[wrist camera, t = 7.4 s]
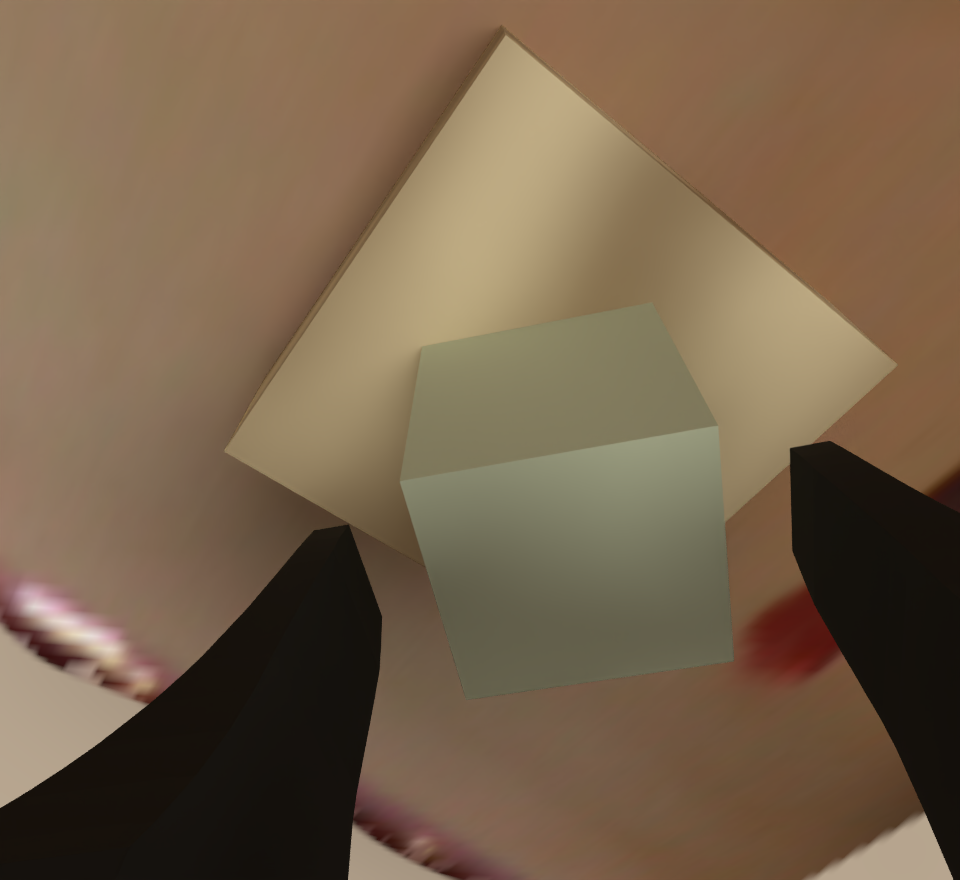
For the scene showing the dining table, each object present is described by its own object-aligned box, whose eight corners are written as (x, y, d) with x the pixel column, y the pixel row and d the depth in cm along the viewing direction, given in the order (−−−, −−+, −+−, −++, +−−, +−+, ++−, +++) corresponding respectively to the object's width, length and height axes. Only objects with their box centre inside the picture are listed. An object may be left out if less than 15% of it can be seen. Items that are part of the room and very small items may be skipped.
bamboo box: (825, 297, 20) (897, 365, 16) (564, 556, 24) (579, 655, 20) (501, 24, 17) (505, 34, 13) (267, 372, 21) (223, 451, 17)
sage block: (651, 302, 16) (717, 425, 11) (672, 495, 18) (733, 661, 13) (422, 346, 16) (399, 481, 12) (469, 529, 18) (466, 700, 14)
